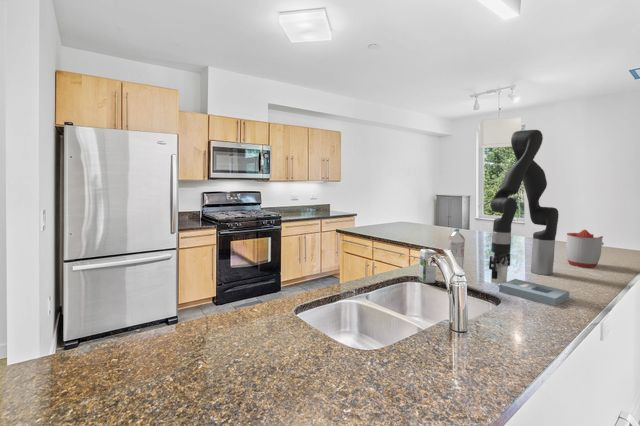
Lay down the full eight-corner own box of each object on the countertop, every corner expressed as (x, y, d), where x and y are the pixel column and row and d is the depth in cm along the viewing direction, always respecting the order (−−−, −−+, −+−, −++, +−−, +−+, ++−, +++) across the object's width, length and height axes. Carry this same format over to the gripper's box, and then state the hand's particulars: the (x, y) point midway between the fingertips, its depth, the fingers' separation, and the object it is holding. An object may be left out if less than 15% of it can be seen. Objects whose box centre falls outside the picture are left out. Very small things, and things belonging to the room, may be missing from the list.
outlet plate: (514, 285, 145) (515, 278, 145) (568, 298, 129) (569, 290, 128) (499, 291, 137) (499, 283, 136) (554, 306, 121) (555, 297, 120)
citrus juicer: (611, 269, 173) (615, 231, 171) (578, 269, 173) (581, 231, 171) (588, 262, 188) (591, 227, 186) (557, 261, 189) (560, 227, 187)
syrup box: (418, 279, 153) (419, 249, 152) (430, 279, 153) (431, 248, 152) (423, 283, 147) (424, 251, 146) (435, 283, 148) (437, 251, 146)
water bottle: (455, 287, 141) (458, 230, 139) (442, 283, 147) (445, 228, 145) (466, 285, 144) (469, 229, 142) (453, 281, 150) (455, 227, 148)
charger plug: (496, 280, 152) (497, 263, 151) (506, 283, 148) (507, 265, 147) (491, 282, 149) (492, 265, 148) (501, 285, 145) (502, 267, 145)
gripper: (500, 239, 154) (498, 272, 155) (484, 242, 146) (482, 277, 147) (517, 241, 148) (515, 276, 149) (502, 244, 140) (499, 282, 141)
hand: (499, 277), depth 148 cm, fingers open, 8 cm apart
